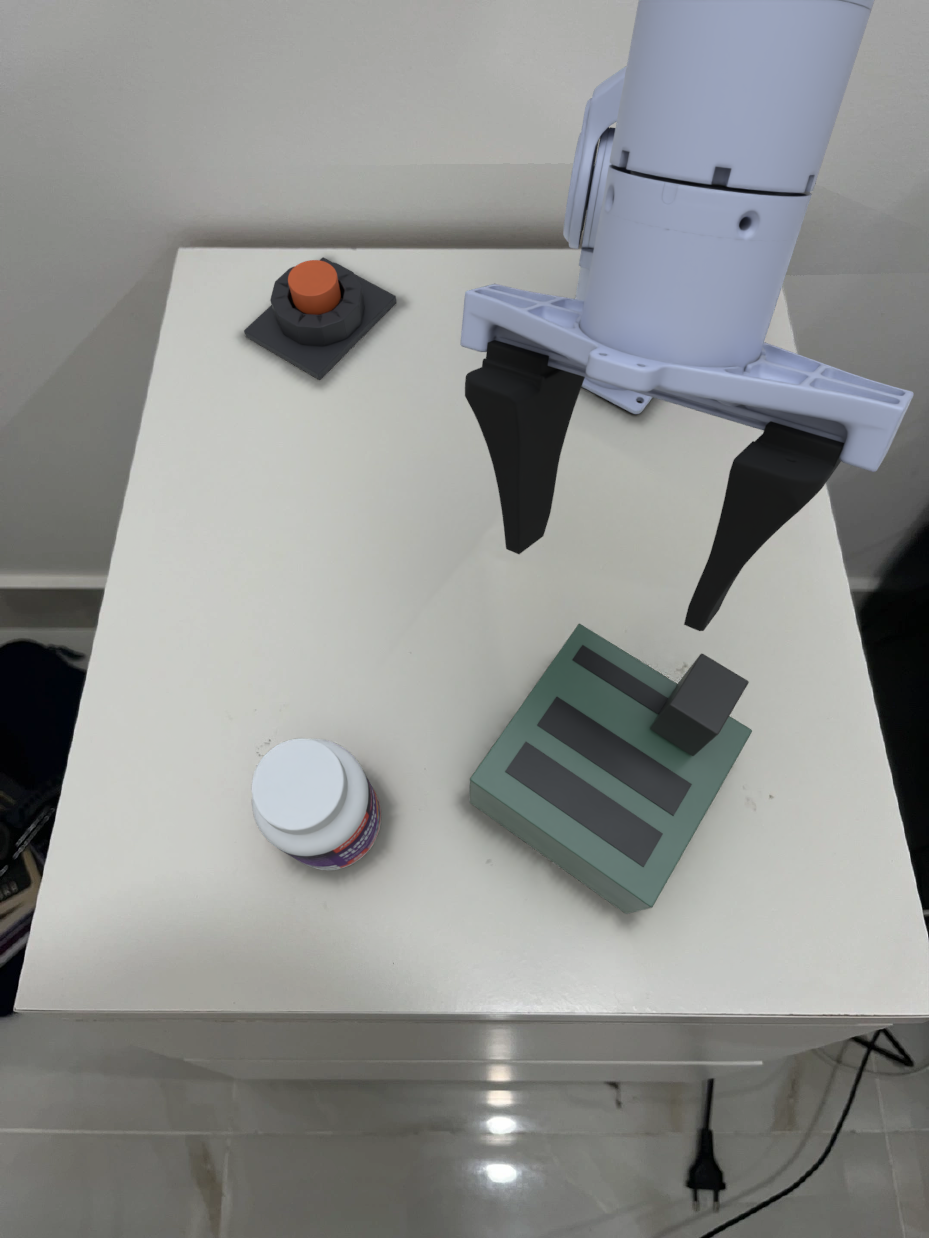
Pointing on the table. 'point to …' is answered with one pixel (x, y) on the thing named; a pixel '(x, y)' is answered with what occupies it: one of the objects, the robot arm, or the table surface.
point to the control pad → (319, 323)
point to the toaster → (602, 773)
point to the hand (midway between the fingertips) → (608, 577)
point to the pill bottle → (315, 803)
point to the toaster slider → (699, 705)
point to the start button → (314, 287)
